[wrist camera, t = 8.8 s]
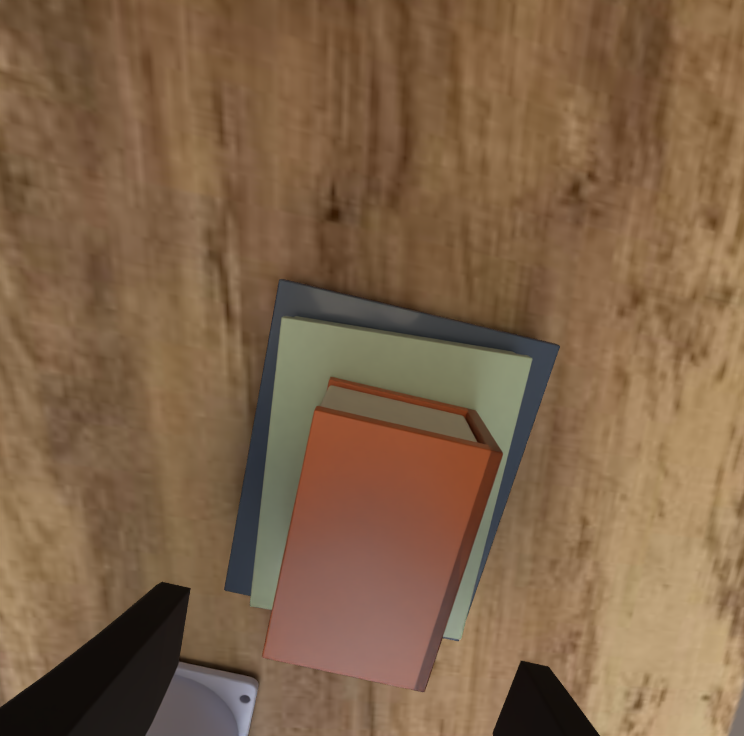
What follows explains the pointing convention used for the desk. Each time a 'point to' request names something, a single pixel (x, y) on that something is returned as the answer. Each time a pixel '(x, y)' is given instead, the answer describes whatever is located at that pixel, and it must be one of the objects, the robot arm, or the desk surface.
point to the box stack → (387, 371)
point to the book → (380, 533)
